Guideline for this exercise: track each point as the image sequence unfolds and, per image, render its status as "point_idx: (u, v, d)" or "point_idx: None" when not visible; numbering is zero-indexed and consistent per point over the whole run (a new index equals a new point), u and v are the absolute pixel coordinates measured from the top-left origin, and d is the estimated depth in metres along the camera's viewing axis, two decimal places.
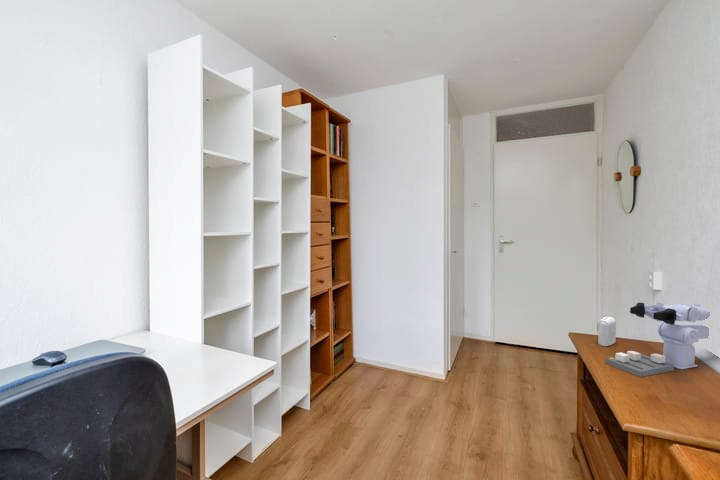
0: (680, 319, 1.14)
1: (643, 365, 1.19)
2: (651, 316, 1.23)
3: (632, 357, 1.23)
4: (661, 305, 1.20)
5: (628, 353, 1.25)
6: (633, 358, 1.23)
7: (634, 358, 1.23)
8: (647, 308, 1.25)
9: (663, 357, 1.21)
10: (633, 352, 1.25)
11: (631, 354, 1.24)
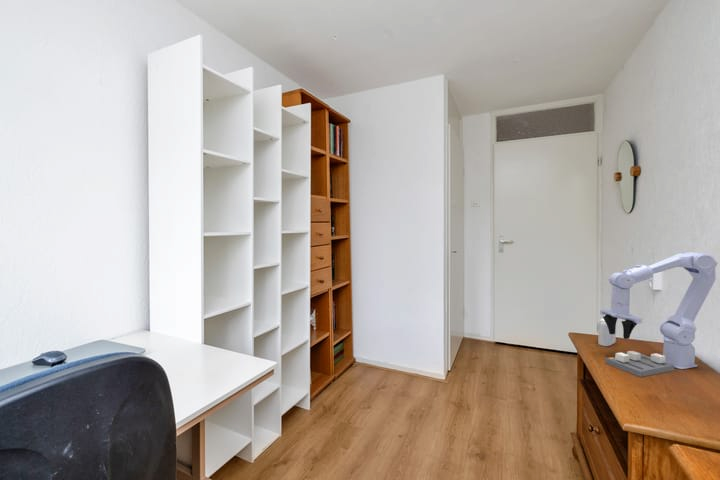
0: (640, 322, 1.23)
1: (643, 365, 1.19)
2: None
3: (632, 357, 1.23)
4: None
5: (628, 353, 1.25)
6: (633, 358, 1.23)
7: (634, 358, 1.23)
8: None
9: (663, 357, 1.21)
10: (633, 352, 1.25)
11: (631, 354, 1.24)
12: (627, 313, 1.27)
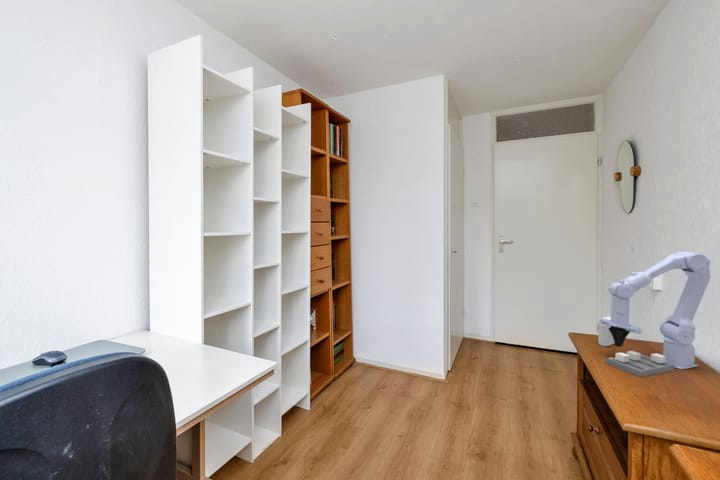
0: (640, 332, 1.23)
1: (643, 365, 1.19)
2: None
3: (632, 357, 1.23)
4: (615, 326, 1.28)
5: (628, 353, 1.25)
6: (633, 358, 1.23)
7: (634, 358, 1.23)
8: None
9: (663, 357, 1.21)
10: (633, 352, 1.25)
11: (631, 354, 1.24)
12: (627, 323, 1.27)
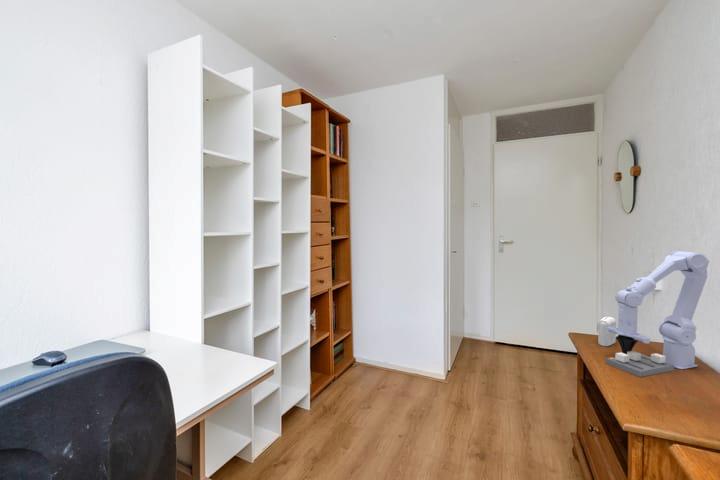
0: (648, 342, 1.20)
1: (643, 365, 1.19)
2: None
3: (633, 357, 1.23)
4: (623, 335, 1.25)
5: (628, 353, 1.25)
6: (633, 358, 1.23)
7: (634, 358, 1.23)
8: None
9: (663, 357, 1.21)
10: (633, 352, 1.24)
11: (631, 354, 1.24)
12: (635, 332, 1.24)
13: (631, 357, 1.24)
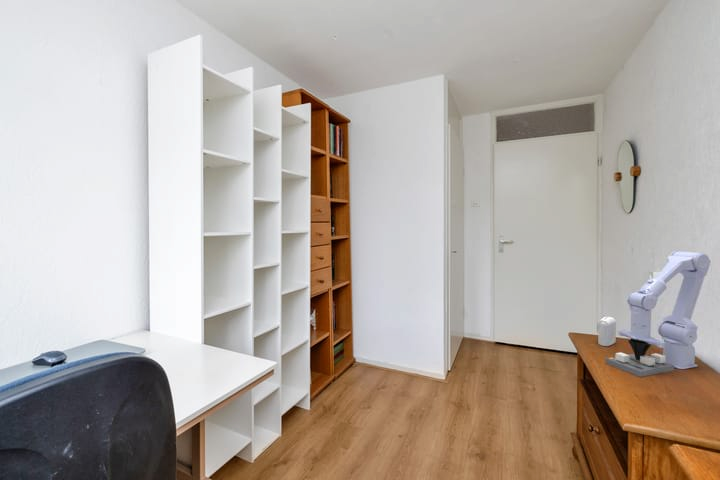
0: (663, 346, 1.16)
1: (643, 365, 1.19)
2: None
3: (646, 362, 1.19)
4: (636, 339, 1.21)
5: (642, 358, 1.20)
6: (647, 363, 1.19)
7: (648, 363, 1.19)
8: None
9: (663, 357, 1.21)
10: (647, 357, 1.20)
11: (645, 359, 1.19)
12: (648, 336, 1.20)
13: (644, 362, 1.20)
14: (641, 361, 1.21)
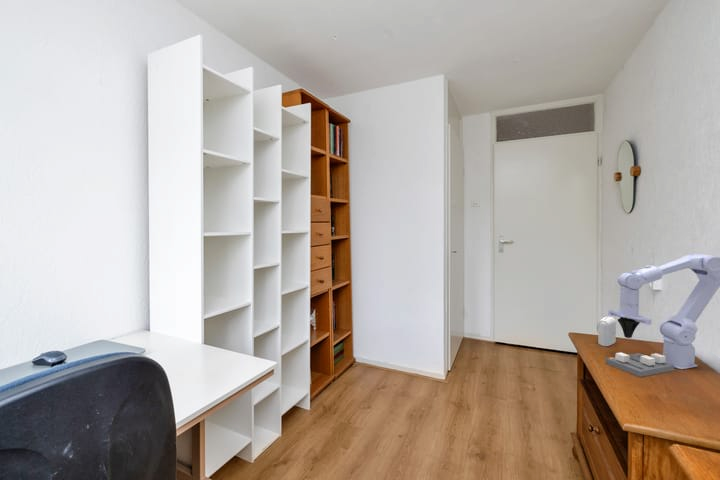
0: (650, 323, 1.21)
1: (643, 365, 1.19)
2: None
3: (646, 362, 1.19)
4: None
5: (642, 358, 1.20)
6: (647, 363, 1.19)
7: (648, 363, 1.19)
8: None
9: (663, 357, 1.21)
10: (647, 357, 1.20)
11: (645, 359, 1.19)
12: (636, 314, 1.25)
13: (644, 362, 1.20)
14: (641, 361, 1.21)
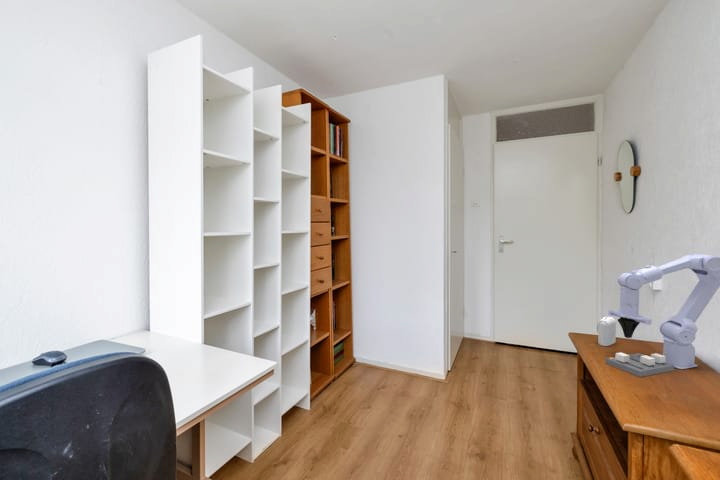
0: (650, 323, 1.21)
1: (643, 365, 1.19)
2: None
3: (646, 362, 1.19)
4: None
5: (642, 358, 1.20)
6: (647, 363, 1.19)
7: (648, 363, 1.19)
8: None
9: (663, 357, 1.21)
10: (647, 357, 1.20)
11: (645, 359, 1.19)
12: (636, 314, 1.25)
13: (644, 362, 1.20)
14: (641, 361, 1.21)
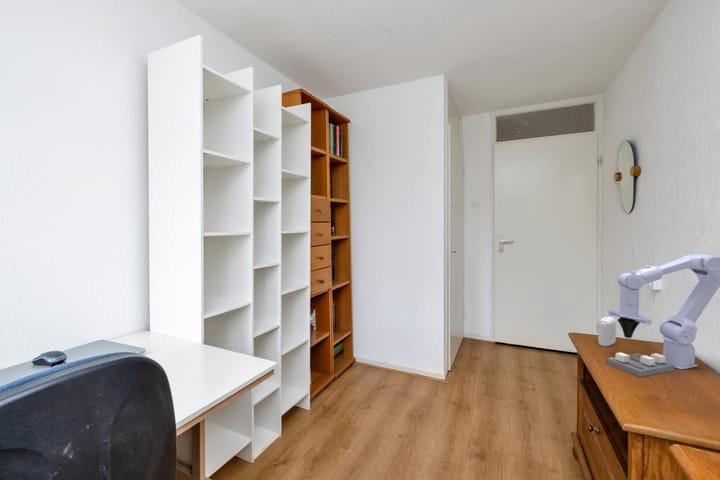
0: (650, 323, 1.21)
1: (643, 365, 1.19)
2: None
3: (646, 362, 1.19)
4: None
5: (642, 358, 1.20)
6: (647, 363, 1.19)
7: (648, 363, 1.19)
8: None
9: (663, 357, 1.21)
10: (647, 357, 1.20)
11: (645, 359, 1.19)
12: (636, 314, 1.25)
13: (644, 362, 1.20)
14: (641, 361, 1.21)
